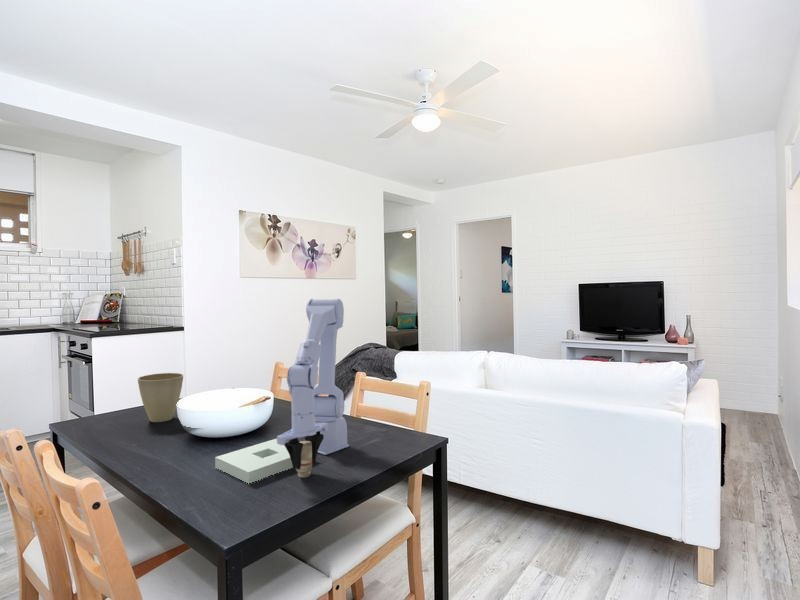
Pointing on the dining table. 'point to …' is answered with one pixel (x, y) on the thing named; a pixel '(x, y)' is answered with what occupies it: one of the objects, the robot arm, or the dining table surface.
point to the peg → (305, 460)
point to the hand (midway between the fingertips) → (304, 465)
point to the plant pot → (160, 395)
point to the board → (255, 461)
